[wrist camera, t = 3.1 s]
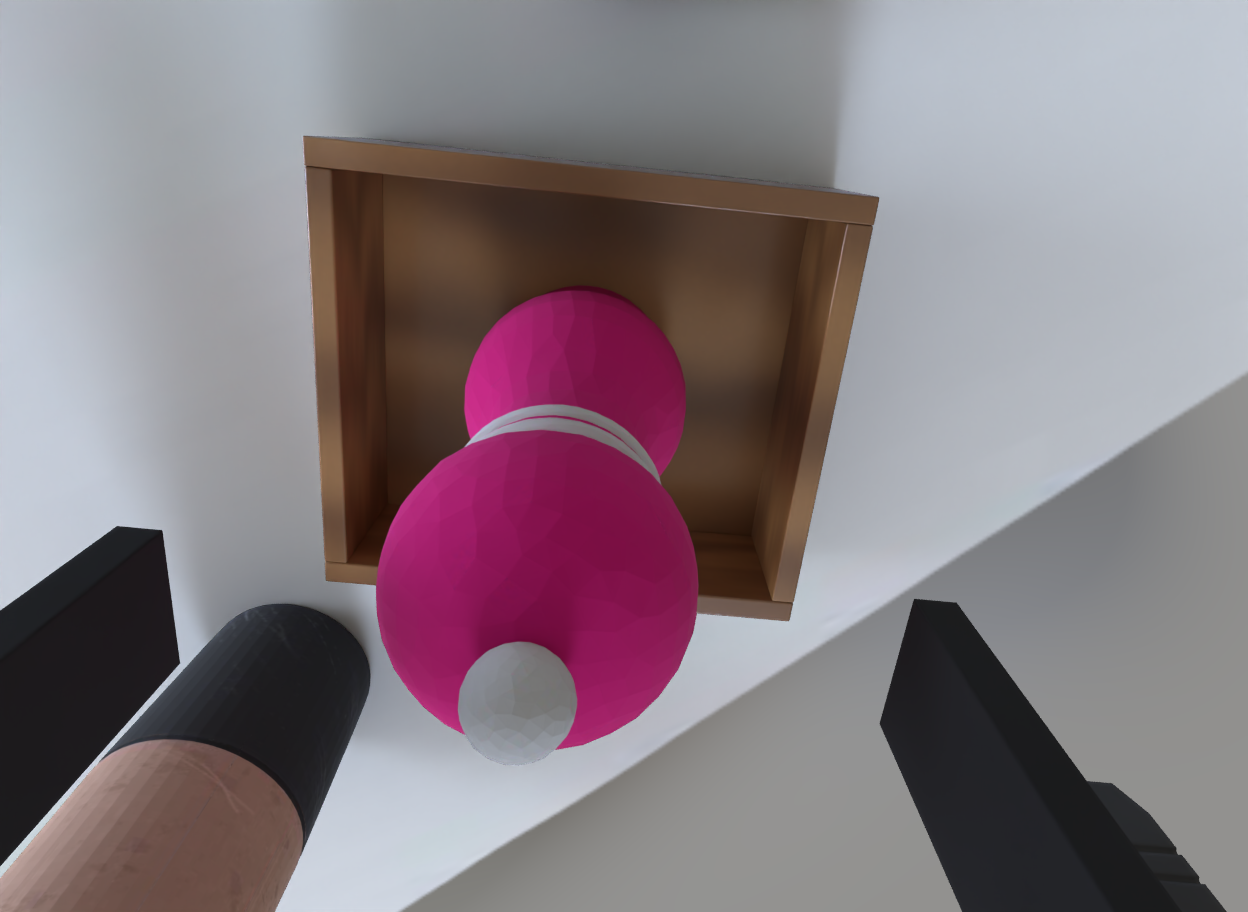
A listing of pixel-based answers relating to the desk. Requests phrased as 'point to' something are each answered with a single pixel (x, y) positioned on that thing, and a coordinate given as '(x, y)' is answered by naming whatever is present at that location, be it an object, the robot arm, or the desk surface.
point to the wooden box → (589, 256)
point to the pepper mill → (548, 536)
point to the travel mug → (207, 779)
